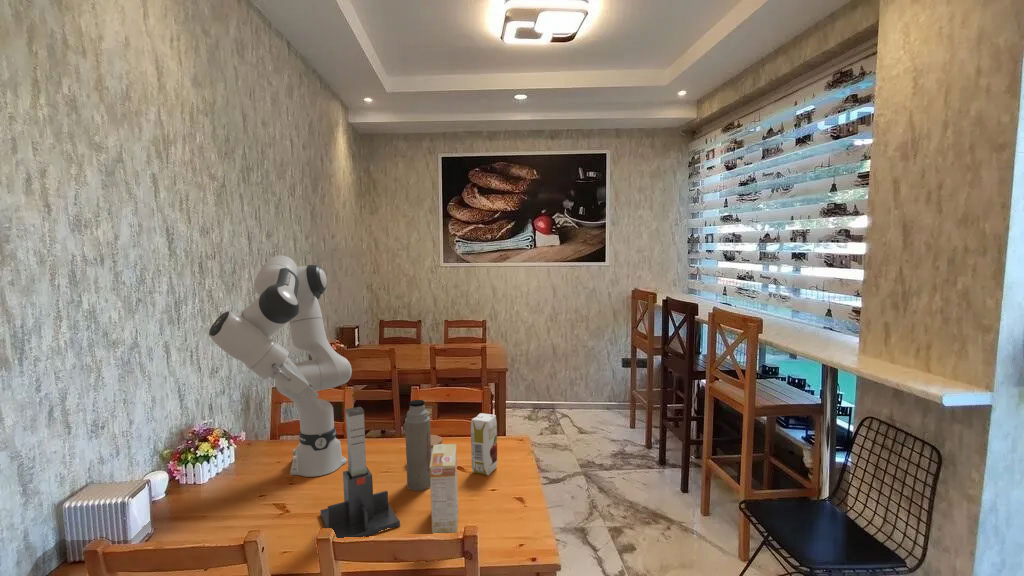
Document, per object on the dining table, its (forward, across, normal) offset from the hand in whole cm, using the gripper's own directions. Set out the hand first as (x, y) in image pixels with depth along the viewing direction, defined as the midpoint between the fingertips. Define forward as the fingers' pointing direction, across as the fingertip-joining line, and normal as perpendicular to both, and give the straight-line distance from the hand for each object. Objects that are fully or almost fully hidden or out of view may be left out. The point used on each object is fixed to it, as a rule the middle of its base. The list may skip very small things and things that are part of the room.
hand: (313, 392), depth 131 cm
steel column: (+29, 0, +14) cm, 32 cm away
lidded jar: (+57, +27, -2) cm, 63 cm away
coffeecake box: (+50, -13, +6) cm, 52 cm away
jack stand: (+35, 0, +20) cm, 41 cm away
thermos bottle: (+51, +11, +5) cm, 52 cm away
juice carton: (+67, +9, -11) cm, 69 cm away
